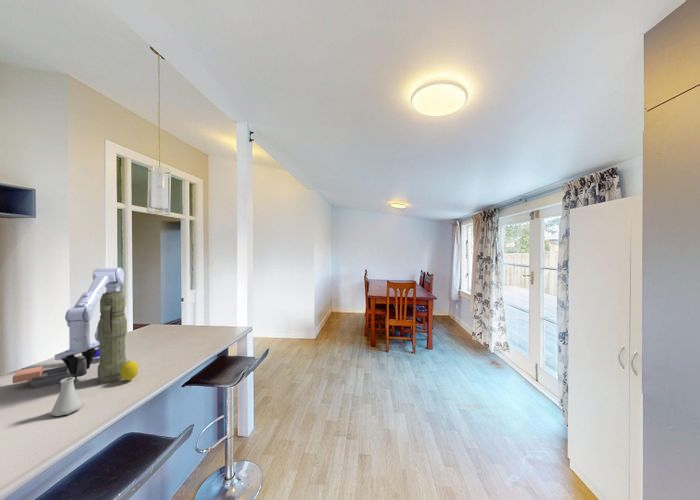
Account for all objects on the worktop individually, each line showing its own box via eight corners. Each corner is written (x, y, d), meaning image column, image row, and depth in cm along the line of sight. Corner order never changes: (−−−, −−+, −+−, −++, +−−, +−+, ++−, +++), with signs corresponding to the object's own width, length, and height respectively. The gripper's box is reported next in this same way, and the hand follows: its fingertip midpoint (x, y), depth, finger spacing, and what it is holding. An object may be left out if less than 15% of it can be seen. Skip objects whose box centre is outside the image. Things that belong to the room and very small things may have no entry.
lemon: (118, 385, 103) (118, 364, 103) (122, 379, 108) (122, 359, 108) (136, 382, 106) (136, 361, 106) (139, 376, 111) (139, 356, 111)
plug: (87, 371, 110) (87, 354, 110) (86, 375, 107) (86, 357, 107) (73, 374, 108) (73, 356, 108) (72, 378, 105) (72, 359, 105)
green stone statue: (93, 387, 102) (93, 295, 102) (102, 375, 112) (102, 290, 112) (123, 382, 106) (123, 293, 106) (129, 370, 116) (129, 289, 116)
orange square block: (42, 372, 108) (42, 366, 108) (39, 378, 103) (39, 371, 103) (17, 377, 104) (17, 370, 104) (12, 383, 99) (12, 376, 99)
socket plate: (79, 370, 116) (79, 362, 116) (76, 378, 109) (76, 370, 109) (37, 379, 108) (37, 370, 108) (31, 388, 101) (31, 379, 101)
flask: (66, 404, 91) (66, 374, 91) (89, 403, 92) (89, 373, 92) (43, 417, 84) (43, 385, 84) (68, 416, 84) (68, 384, 84)
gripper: (92, 331, 115) (92, 362, 116) (48, 342, 101) (48, 378, 101) (105, 332, 114) (105, 364, 114) (62, 344, 100) (62, 380, 100)
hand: (79, 371), depth 108 cm, fingers closed on plug, 4 cm apart
